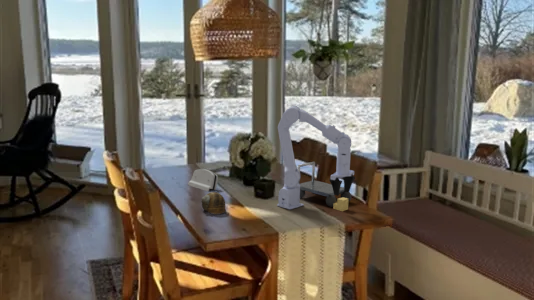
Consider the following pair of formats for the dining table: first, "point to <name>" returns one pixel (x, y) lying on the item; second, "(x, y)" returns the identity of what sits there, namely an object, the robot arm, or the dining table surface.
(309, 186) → the trolley
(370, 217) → the dining table surface
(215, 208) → the seashell
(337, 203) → the yellow cube-like block
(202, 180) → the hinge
